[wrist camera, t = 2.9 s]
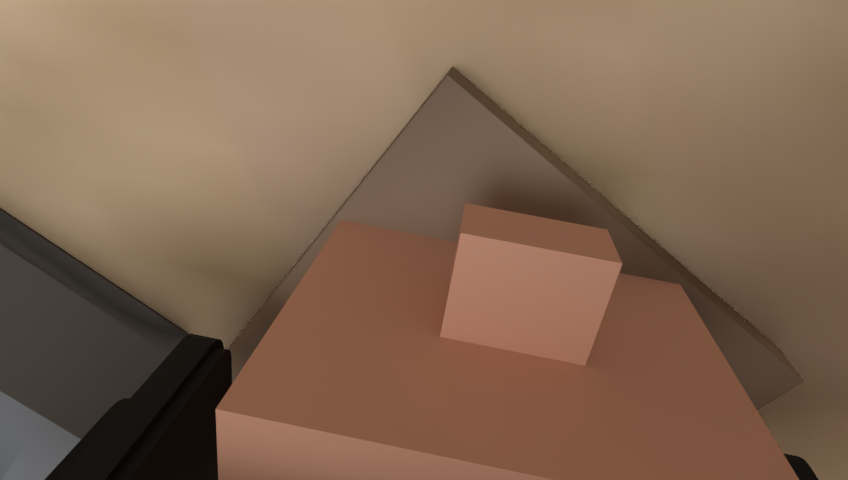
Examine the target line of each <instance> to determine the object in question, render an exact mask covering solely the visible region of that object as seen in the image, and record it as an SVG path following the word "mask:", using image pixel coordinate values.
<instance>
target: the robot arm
mask: <svg viewBox="0 0 848 480" xmlns="http://www.w3.org/2000/svg"><path fill="white" fill-rule="evenodd" d="M231 385H232V357H231V352H230V350H227V349H224V347H223V343H222V341H221V340H219V339H214V338H209V337H204V336H199V335H194V334H189V335H187V336H185V337H184V338H183V339H182V340H181V341H180V343H179V344H178V345H177V346H176V347H175V348H174V349H173V350H172V352H171V353H170V354H169V355H168V356H167V357H166V358H165V360H164V361H163V362H162V363H161V364H160V365H159V366H158V367H157V369H156V370H155V371H154V372H153V373H152V374H151V375H150V376H149V378H148V379H147V380H146V381H145V382H144V383H143V384H142V385H141V387H140V388H139V389H138V390H137V391H136V392H135V393H134V394H133V396H132V397H131V398H130V399H129V398H124V399H122V400H120V401H117V402H116V403H115V404H114V405H113V406H112V407H111V408H110V409H109V410H108V411H107V412H106V413H105V414H104V415H103V416H102V417H101V418H100V419H99V421H98V422H97V423H96V424H95V425H94V426H93V427H92V428H91V429H90V430H89V431H88V433H87V434H86V435H85V436H84V437H83V438H82V439H81V440H80V441H79V442H78V444H77V445H76V446H75V447H74V448H73V449H72V450H71V451H70V452H69V453H68V454H67V456H66V457H65V458H64V459H63V460H62V461H61V462H60V463H59V464H58V465H57V466H56V468H55V469H54V470H53V471H52V472H51V473H50V474H49V475H48V476H47V477H46V479H45V480H218V461H217V435H216V408H217V406H218V404H219V403H220V401H221V400H222V398H223V397H224V395H225V394H226V392H227V391H228V389H229V388H230V386H231ZM784 455H785V457H786V459H787V460H788V462H789V464H790V465H791V467H792V469H793V470H794V472H795V474H796V475H797V477H798V478H799V480H818V478H817V477H816V475H815V474H814V472H813V471H812V469H811V467H810V466H809V465H808V463H807V462H806V461H805V460H804V459H802V458H800V457H798V456H793V455H788V454H784Z"/></svg>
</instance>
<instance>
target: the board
mask: <svg viewBox="0 0 848 480" xmlns="http://www.w3.org/2000/svg"><path fill="white" fill-rule="evenodd" d="M465 203H468V204H473V205H478V206H484V207H489V208H495V209H500V210H505V211H511V212H516V213H521V214H527V215H532V216H537V217H543V218H548V219H554V220H559V221H564V222H570V223H575V224H580V225H586V226H591V227H596V228H602V229H607V230H608V232H609V234H610V237H611V239H612V241H613V243H614V246H615V248H616V250H617V252H618V254H619V257H620V259H621V261H622V263H623V264H622V266H621V269H620V272H619V273H623V274H628V275H633V276H639V277H644V278H649V279H654V280H660V281H665V282H670V283H675V284H680V285H681V286H682V288H683V290H684V291H685V293H686V295H687V296H688V298H689V299H690V301H691V303H692V304H693V306H694V308H695V309H696V311H697V313H698V314H699V316H700V318H701V319H702V321H703V322H704V324H705V326H706V327H707V329H708V331H709V332H710V334H711V336H712V337H713V339H714V340H715V342H716V344H717V345H718V347H719V349H720V350H721V352H722V354H723V355H724V357H725V359H726V360H727V362H728V363H729V365H730V367H731V368H732V370H733V372H734V373H735V375H736V377H737V378H738V380H739V382H740V383H741V385H742V386H743V388H744V390H745V391H746V393H747V395H748V396H749V398H750V400H751V401H752V403H753V405H754V406H755V408H756V409H759V408H761V407H762V406H764V405H765V404H767V403H769V402H770V401H772V400H774V399H775V398H777V397H778V396H780V395H782V394H783V393H785V392H787V391H788V390H790V389H791V388H793V387H795V386H796V385H798V384H800V383H801V382H803V379H802V378H801V377H800V376H799V374H798V373H797V372H796V370H795V369H794V368H793V367H792V365H791V364H790V363H789V361H788V360H787V359H786V357H785V356H784V355H783V354H782V352H781V351H780V350H779V349H778V348H777V347H776V346H775V345H774V344H773V343H771V342H770V341H769V340H768V339H767V338H766V337H764V336H763V335H762V334H761V333H760V332H759V331H757V330H756V329H755V328H754V327H753V326H752V325H751V324H749V323H748V322H747V321H746V320H745V319H744V318H742V317H741V316H740V315H739V314H738V313H737V312H736V311H734V310H733V309H732V308H731V307H730V306H729V305H727V304H726V303H725V302H724V301H723V300H722V299H720V298H719V297H718V296H717V295H716V294H715V293H714V292H712V291H711V290H710V289H709V288H708V287H707V286H705V285H704V284H703V283H702V282H701V281H700V280H699V279H697V278H696V277H695V276H694V275H693V274H692V273H690V272H689V271H688V270H687V269H686V268H685V267H683V266H682V265H681V264H680V263H679V262H678V261H677V260H675V259H674V258H673V257H672V256H671V255H670V254H668V253H667V252H666V251H665V250H664V249H663V248H662V247H660V246H659V245H658V244H657V243H656V242H655V241H653V240H652V239H651V238H650V237H649V236H648V235H647V234H645V233H644V232H643V231H642V230H641V229H640V228H638V227H637V226H636V225H635V224H634V223H633V222H631V221H630V220H629V219H628V218H627V217H626V216H625V215H623V214H622V213H621V212H620V211H619V210H618V209H616V208H615V207H614V206H613V205H612V204H611V203H610V202H608V201H607V200H606V199H605V198H604V197H603V196H601V195H600V194H599V193H598V192H597V191H596V190H594V189H593V188H592V187H591V186H590V185H589V184H588V183H586V182H585V181H584V180H583V179H582V178H581V177H579V176H578V175H577V174H576V173H575V172H574V171H573V170H571V169H570V168H569V167H568V166H567V165H566V164H564V163H563V162H562V161H561V160H560V159H559V158H558V157H556V156H555V155H554V154H553V153H552V152H551V151H549V150H548V149H547V148H546V147H545V146H544V145H542V144H541V143H540V142H539V141H538V140H537V139H536V138H534V137H533V136H532V135H531V134H530V133H529V132H527V131H526V130H525V129H524V128H523V127H522V126H521V125H519V124H518V123H517V122H516V121H515V120H514V119H512V118H511V117H510V116H509V115H508V114H507V113H505V112H504V111H503V110H502V109H501V108H500V107H499V106H497V105H496V104H495V103H494V102H493V101H492V100H490V99H489V98H488V97H487V96H486V95H485V94H484V93H482V92H481V91H480V90H479V89H478V88H477V87H475V86H474V85H473V84H472V83H471V82H470V81H468V80H467V79H466V78H465V77H464V76H463V75H462V74H460V73H459V72H458V71H457V70H456V69H455V68H453V67H452V68H451V69H450V70H449V72H448V73H447V74H446V75H445V77H444V78H443V79H442V80H441V82H440V83H439V84H438V85H437V87H436V88H435V89H434V91H433V92H432V93H431V94H430V96H429V97H428V98H427V99H426V101H425V102H424V103H423V104H422V106H421V107H420V108H419V109H418V111H417V112H416V113H415V114H414V116H413V117H412V118H411V119H410V121H409V122H408V123H407V124H406V126H405V127H404V128H403V130H402V131H401V132H400V133H399V135H398V136H397V137H396V138H395V140H394V141H393V142H392V143H391V145H390V146H389V147H388V148H387V150H386V151H385V152H384V153H383V155H382V156H381V157H380V158H379V160H378V161H377V162H376V163H375V165H374V166H373V167H372V168H371V170H370V171H369V172H368V174H367V175H366V176H365V177H364V179H363V180H362V181H361V182H360V184H359V185H358V186H357V187H356V189H355V190H354V191H353V192H352V194H351V195H350V196H349V197H348V199H347V200H346V201H345V202H344V204H343V205H342V206H341V207H340V209H339V210H338V211H337V213H336V214H335V215H334V216H333V218H332V219H331V220H330V221H329V223H328V224H327V225H326V226H325V228H324V229H323V230H322V231H321V233H320V234H319V235H318V236H317V238H316V239H315V240H314V241H313V243H312V244H311V245H310V246H309V248H308V249H307V250H306V252H305V253H304V254H303V255H302V257H301V258H300V259H299V260H298V262H297V263H296V264H295V265H294V267H293V268H292V269H291V270H290V272H289V273H288V274H287V275H286V277H285V278H284V279H283V280H282V282H281V283H280V284H279V285H278V287H277V288H276V289H275V291H274V292H273V293H272V294H271V296H270V297H269V298H268V299H267V301H266V302H265V303H264V304H263V306H262V307H261V308H260V309H259V311H258V312H257V313H256V314H255V316H254V317H253V318H252V319H251V321H250V322H249V323H248V324H247V326H246V327H245V328H244V330H243V331H242V332H241V333H240V335H239V336H238V337H237V338H236V340H235V341H234V342H233V343H232V345H231V346H230V347H229V348H228V350H230V352H231V357H232V383H233V382H234V380H235V379H236V377H237V376H238V374H239V373H240V371H241V370H242V368H243V367H244V365H245V364H246V362H247V361H248V359H249V358H250V356H251V355H252V353H253V352H254V350H255V349H256V347H257V346H258V344H259V343H260V341H261V340H262V338H263V337H264V335H265V334H266V332H267V331H268V329H269V328H270V326H271V325H272V323H273V322H274V320H275V319H276V317H277V316H278V314H279V313H280V311H281V310H282V308H283V307H284V305H285V304H286V302H287V301H288V299H289V298H290V296H291V295H292V293H293V292H294V290H295V289H296V287H297V286H298V284H299V283H300V281H301V280H302V278H303V277H304V275H305V274H306V272H307V271H308V269H309V268H310V266H311V265H312V263H313V262H314V260H315V259H316V257H317V256H318V254H319V253H320V251H321V250H322V248H323V247H324V245H325V244H326V242H327V241H328V239H329V238H330V236H331V235H332V233H333V231H334V230H335V228H336V227H337V225H338V224H339V222H340V221H341V220H344V221H349V222H354V223H360V224H365V225H370V226H375V227H381V228H386V229H391V230H397V231H402V232H407V233H412V234H418V235H423V236H428V237H433V238H439V239H444V240H449V241H454V242H457V241H458V236H459V231H460V226H461V221H462V216H463V211H464V206H465Z"/></svg>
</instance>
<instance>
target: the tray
mask: <svg viewBox="0 0 848 480" xmlns="http://www.w3.org/2000/svg"><path fill="white" fill-rule="evenodd" d="M186 335H187V333H185V332H184V331H182V330H181V329H179V328H178V327H176V326H175V325H173V324H172V323H170V322H169V321H167V320H165V319H164V318H162V317H161V316H159V315H158V314H156V313H155V312H153V311H152V310H150V309H149V308H147V307H146V306H144V305H143V304H141V303H140V302H138V301H137V300H135V299H134V298H132V297H131V296H129V295H128V294H126V293H125V292H123V291H122V290H120V289H119V288H117V287H116V286H114V285H113V284H111V283H110V282H108V281H107V280H105V279H104V278H102V277H101V276H99V275H98V274H96V273H95V272H93V271H92V270H90V269H89V268H87V267H86V266H84V265H83V264H81V263H80V262H78V261H77V260H75V259H74V258H72V257H71V256H69V255H68V254H66V253H65V252H63V251H62V250H60V249H59V248H57V247H56V246H54V245H53V244H51V243H50V242H48V241H47V240H45V239H44V238H42V237H41V236H39V235H38V234H36V233H35V232H33V231H32V230H30V229H29V228H27V227H26V226H24V225H23V224H21V223H20V222H18V221H17V220H15V219H14V218H12V217H11V216H9V215H8V214H6V213H5V212H3V211H2V210H0V480H45V479H46V477H47V476H48V475H49V474H50V473H51V472H52V471H53V470H54V469H55V468H56V466H57V465H58V464H59V463H60V462H61V461H62V460H63V459H64V458H65V457H66V456H67V454H68V453H69V452H70V451H71V450H72V449H73V448H74V447H75V446H76V445H77V444H78V442H79V441H80V440H81V439H82V438H83V437H84V436H85V435H86V434H87V433H88V431H89V430H90V429H91V428H92V427H93V426H94V425H95V424H96V423H97V422H98V421H99V419H100V418H101V417H102V416H103V415H104V414H105V413H106V412H107V411H108V410H109V409H110V408H111V407H112V406H113V405H114V404H115V403H116V402H117V401H120V400H122V399H124V398H129V399H130V398H131V397H132V396H133V394H134V393H135V392H136V391H137V390H138V389H139V388H140V387H141V385H142V384H143V383H144V382H145V381H146V380H147V379H148V378H149V376H150V375H151V374H152V373H153V372H154V371H155V370H156V369H157V367H158V366H159V365H160V364H161V363H162V362H163V361H164V360H165V358H166V357H167V356H168V355H169V354H170V353H171V352H172V350H173V349H174V348H175V347H176V346H177V345H178V344H179V343H180V341H181V340H182V339H183V338H184V337H185V336H186Z"/></svg>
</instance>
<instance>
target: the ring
mask: <svg viewBox="0 0 848 480" xmlns="http://www.w3.org/2000/svg"><path fill="white" fill-rule="evenodd" d="M622 264H623V263H622V261H621V259H620V257H619V254H618V252H617V250H616V248H615V246H614V243H613V241H612V239H611V237H610V234H609V232H608V230H607V229H602V228H596V227H591V226H586V225H580V224H575V223H570V222H564V221H559V220H554V219H548V218H543V217H537V216H532V215H527V214H521V213H516V212H511V211H505V210H500V209H495V208H489V207H484V206H478V205H473V204H468V203H465V206H464V211H463V216H462V221H461V226H460V231H459V236H458V241H457V242H454V241H449V240H444V239H439V238H433V237H428V236H423V235H418V234H412V233H407V232H402V231H397V230H391V229H386V228H381V227H375V226H370V225H365V224H360V223H354V222H349V221H344V220H341V221H340V222H339V224H338V225H337V227H336V228H335V230H334V231H333V233H332V235H331V236H330V238H329V239H328V241H327V242H326V244H325V245H324V247H323V248H322V250H321V251H320V253H319V254H318V256H317V257H316V259H315V260H314V262H313V263H312V265H311V266H310V268H309V269H308V271H307V272H306V274H305V275H304V277H303V278H302V280H301V281H300V283H299V284H298V286H297V287H296V289H295V290H294V292H293V293H292V295H291V296H290V298H289V299H288V301H287V302H286V304H285V305H284V307H283V308H282V310H281V311H280V313H279V314H278V316H277V317H276V319H275V320H274V322H273V323H272V325H271V326H270V328H269V329H268V331H267V332H266V334H265V335H264V337H263V338H262V340H261V341H260V343H259V344H258V346H257V347H256V349H255V350H254V352H253V353H252V355H251V356H250V358H249V359H248V361H247V362H246V364H245V365H244V367H243V368H242V370H241V371H240V373H239V374H238V376H237V377H236V379H235V380H234V382H233V383H232V385H231V386H230V388H229V389H228V391H227V392H226V394H225V395H224V397H223V398H222V400H221V401H220V403H219V404H218V406H217V408H216V435H217V461H218V480H799V478H798V477H797V475H796V474H795V472H794V470H793V469H792V467H791V465H790V464H789V462H788V460H787V459H786V457H785V455H784V454H783V452H782V451H781V449H780V447H779V446H778V444H777V442H776V441H775V439H774V437H773V436H772V434H771V432H770V431H769V429H768V428H767V426H766V424H765V423H764V421H763V419H762V418H761V416H760V414H759V413H758V411H757V409H756V408H755V406H754V405H753V403H752V401H751V400H750V398H749V396H748V395H747V393H746V391H745V390H744V388H743V386H742V385H741V383H740V382H739V380H738V378H737V377H736V375H735V373H734V372H733V370H732V368H731V367H730V365H729V363H728V362H727V360H726V359H725V357H724V355H723V354H722V352H721V350H720V349H719V347H718V345H717V344H716V342H715V340H714V339H713V337H712V336H711V334H710V332H709V331H708V329H707V327H706V326H705V324H704V322H703V321H702V319H701V318H700V316H699V314H698V313H697V311H696V309H695V308H694V306H693V304H692V303H691V301H690V299H689V298H688V296H687V295H686V293H685V291H684V290H683V288H682V286H681V285H680V284H675V283H670V282H665V281H660V280H654V279H649V278H644V277H639V276H633V275H628V274H623V273H619V272H620V269H621V266H622Z"/></svg>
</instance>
